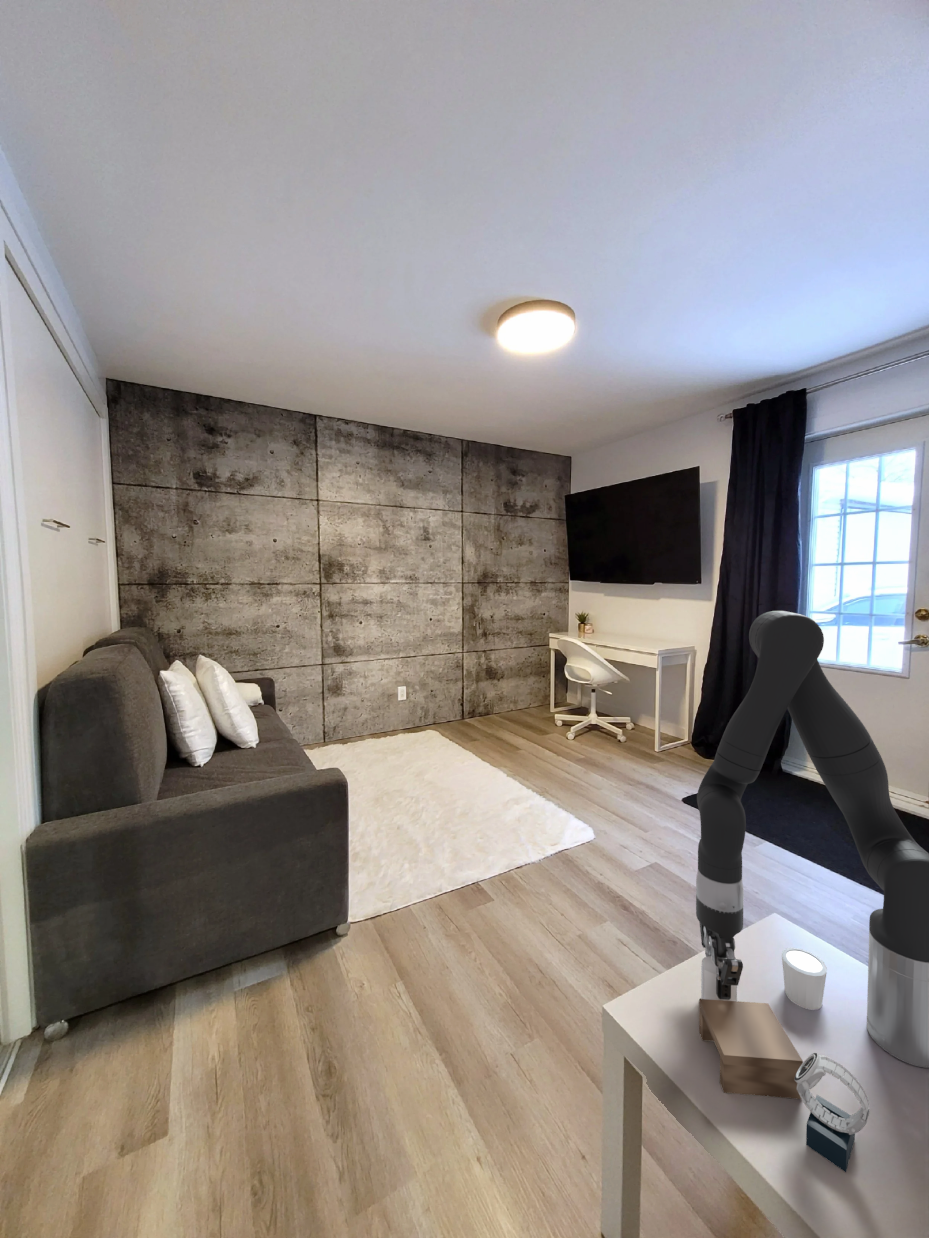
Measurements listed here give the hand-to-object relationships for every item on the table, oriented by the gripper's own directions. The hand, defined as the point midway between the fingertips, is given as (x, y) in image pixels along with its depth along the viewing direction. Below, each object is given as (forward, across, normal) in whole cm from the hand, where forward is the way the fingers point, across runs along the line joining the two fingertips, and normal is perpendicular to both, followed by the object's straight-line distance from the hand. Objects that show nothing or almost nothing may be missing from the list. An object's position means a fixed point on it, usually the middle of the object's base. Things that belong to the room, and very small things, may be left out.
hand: (718, 987), depth 88 cm
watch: (+3, -22, -6) cm, 23 cm away
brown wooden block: (+3, -11, 0) cm, 12 cm away
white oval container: (+3, +3, -16) cm, 17 cm away
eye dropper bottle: (+3, 0, 0) cm, 3 cm away
